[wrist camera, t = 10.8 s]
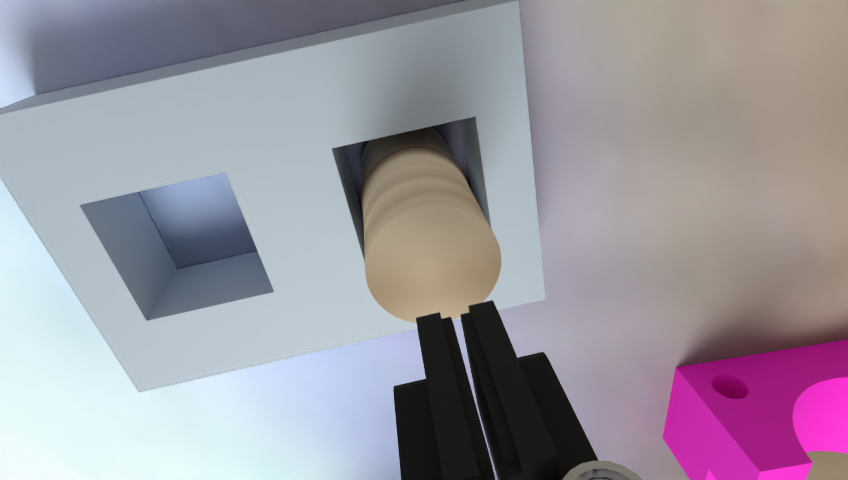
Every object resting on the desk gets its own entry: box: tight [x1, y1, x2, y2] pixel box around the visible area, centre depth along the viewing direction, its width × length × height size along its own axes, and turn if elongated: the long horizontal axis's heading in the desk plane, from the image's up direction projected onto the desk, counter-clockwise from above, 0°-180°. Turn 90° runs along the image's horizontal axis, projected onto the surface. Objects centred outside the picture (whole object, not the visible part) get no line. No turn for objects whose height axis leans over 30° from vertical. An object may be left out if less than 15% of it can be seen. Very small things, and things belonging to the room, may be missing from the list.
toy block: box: [663, 339, 848, 480], centre depth 30 cm, size 15×6×8 cm, turn 96°
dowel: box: [361, 127, 501, 323], centre depth 19 cm, size 4×4×9 cm
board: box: [0, 0, 545, 392], centre depth 21 cm, size 18×12×4 cm, turn 101°
